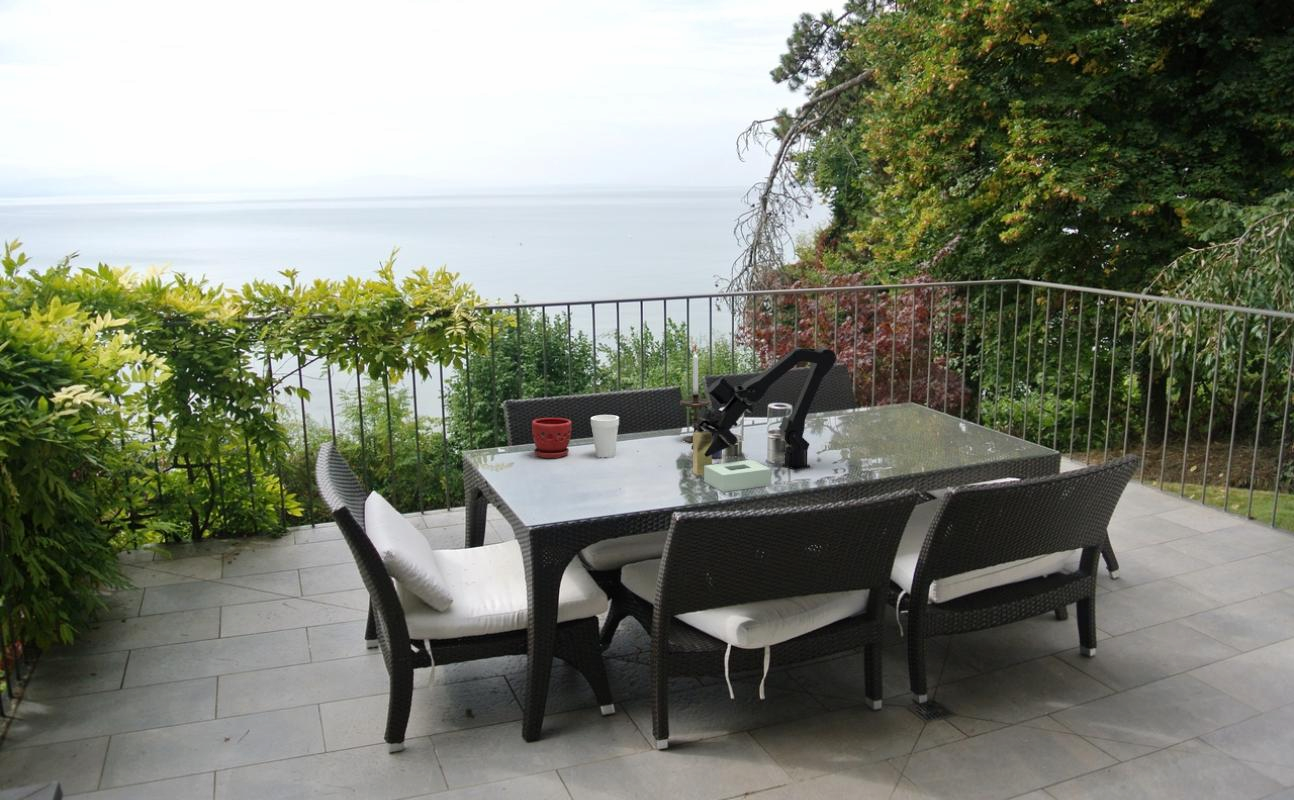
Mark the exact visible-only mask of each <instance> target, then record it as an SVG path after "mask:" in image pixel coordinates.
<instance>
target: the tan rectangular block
mask: <svg viewBox="0 0 1294 800" xmlns="http://www.w3.org/2000/svg"><path fill="white" fill-rule="evenodd" d="M692 435H693V444H692V445H693V450H692V474H694V475H695V476H704V466H706V465H713V459H712V455H710V456H708V457H706V456H705V455H704V454H705V452H706V451H707V449H708V448H709V446H710V445H711V443H712V433H711V432H709V431H703V432H694V431H693V432H692Z"/></svg>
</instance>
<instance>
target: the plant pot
mask: <svg viewBox="0 0 1294 800" xmlns="http://www.w3.org/2000/svg"><path fill="white" fill-rule="evenodd" d="M531 422H532V423H531V432H532V439H533V442H534V445H535V447H536V448H535V449H534V450H533V452H534V455H536V456H538V457H540V458H542V459H556V458H562V457H564V456H566V455H567V454H569V451H570V449H569V448H568V446H569V443H570V441H571V437H572V436H571V435H572V421H571V419H567V418H563V417H562V418H561V417H543V418H542V417H541V418H537V419H534V420H532V421H531ZM543 433H544V435H543Z"/></svg>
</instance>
